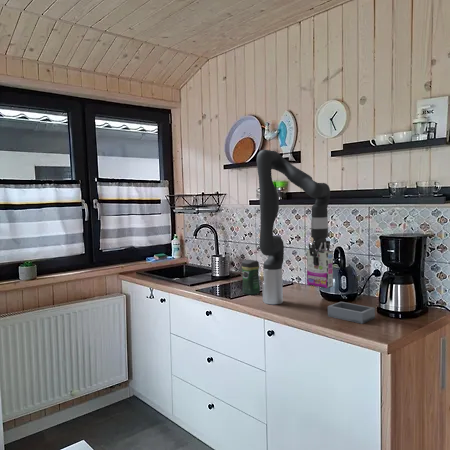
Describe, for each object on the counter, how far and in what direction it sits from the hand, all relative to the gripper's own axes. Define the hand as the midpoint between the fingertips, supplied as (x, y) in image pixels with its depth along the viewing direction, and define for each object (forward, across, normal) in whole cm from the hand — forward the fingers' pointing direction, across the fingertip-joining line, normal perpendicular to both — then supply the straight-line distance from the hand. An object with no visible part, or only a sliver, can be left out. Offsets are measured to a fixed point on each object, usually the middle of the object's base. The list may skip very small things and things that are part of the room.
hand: (319, 264), depth 189 cm
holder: (+21, 0, +16) cm, 27 cm away
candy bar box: (+10, 0, 0) cm, 10 cm away
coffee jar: (+22, -4, -48) cm, 53 cm away
